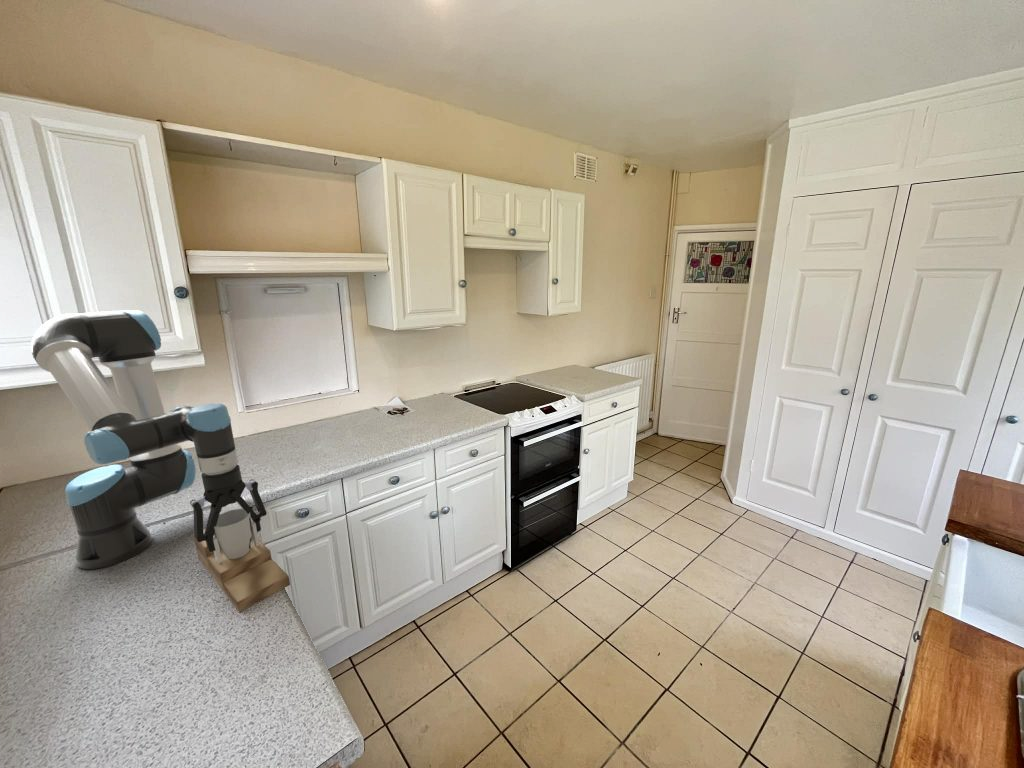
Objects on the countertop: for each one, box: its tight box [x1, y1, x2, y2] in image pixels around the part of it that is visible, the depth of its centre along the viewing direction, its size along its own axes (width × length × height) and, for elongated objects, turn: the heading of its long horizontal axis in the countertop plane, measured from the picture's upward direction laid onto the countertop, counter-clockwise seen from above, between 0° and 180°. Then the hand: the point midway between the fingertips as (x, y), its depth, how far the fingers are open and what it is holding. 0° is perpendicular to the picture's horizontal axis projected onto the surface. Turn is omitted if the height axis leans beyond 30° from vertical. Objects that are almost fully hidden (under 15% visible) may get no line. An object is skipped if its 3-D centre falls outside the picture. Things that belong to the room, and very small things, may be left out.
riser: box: [192, 527, 291, 613], centre depth 105 cm, size 11×30×8 cm, turn 50°
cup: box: [214, 508, 252, 559], centre depth 103 cm, size 8×8×10 cm
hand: (238, 551), depth 104 cm, fingers closed on cup, 8 cm apart
